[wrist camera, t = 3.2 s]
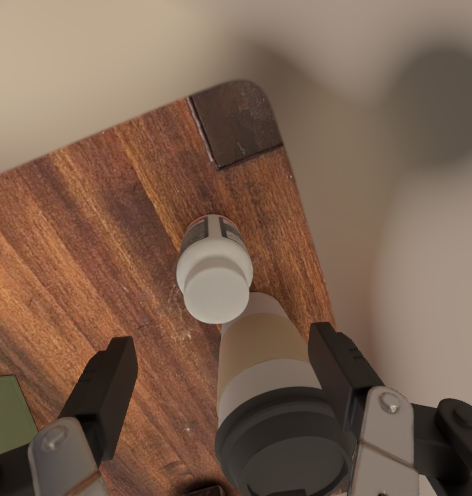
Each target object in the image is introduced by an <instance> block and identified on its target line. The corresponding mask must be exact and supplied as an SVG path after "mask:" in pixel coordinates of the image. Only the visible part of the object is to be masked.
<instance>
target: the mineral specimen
mask: <svg viewBox="0 0 472 496" xmlns="http://www.w3.org/2000/svg"><path fill="white" fill-rule="evenodd" d="M183 496H226V495H225V493H224V491H223V489H222V488H221V487H220V486H218V485H216V486H212V487H208V488H204V489H201V490H198V491H194V492H190V493H187V494H184V495H183Z"/></svg>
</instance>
